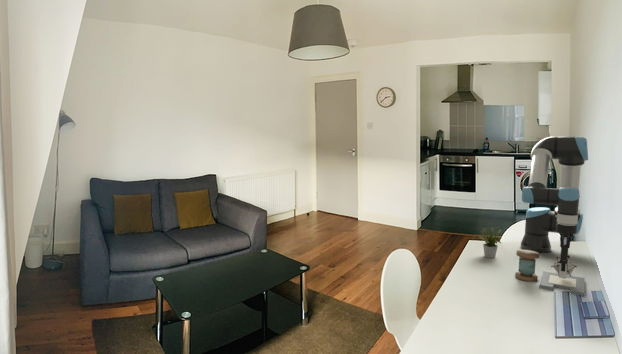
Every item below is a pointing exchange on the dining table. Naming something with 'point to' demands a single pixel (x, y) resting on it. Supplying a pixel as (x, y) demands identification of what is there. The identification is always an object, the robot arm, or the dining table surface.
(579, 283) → the notched board
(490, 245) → the house plant
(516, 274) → the bobbin
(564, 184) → the robot arm
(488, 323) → the dining table surface
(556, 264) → the game die
